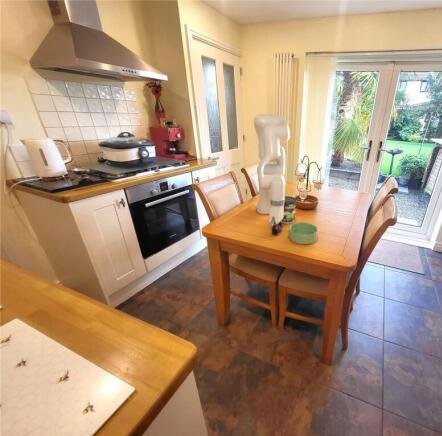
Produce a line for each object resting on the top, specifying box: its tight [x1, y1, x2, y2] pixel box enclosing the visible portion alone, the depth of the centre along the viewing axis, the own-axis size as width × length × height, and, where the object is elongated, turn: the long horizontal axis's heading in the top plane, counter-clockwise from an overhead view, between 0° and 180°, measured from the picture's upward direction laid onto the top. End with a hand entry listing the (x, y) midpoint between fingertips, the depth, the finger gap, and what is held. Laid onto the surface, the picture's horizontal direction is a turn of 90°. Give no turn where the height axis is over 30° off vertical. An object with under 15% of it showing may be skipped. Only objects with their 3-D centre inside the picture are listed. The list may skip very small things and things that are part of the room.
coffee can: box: [282, 195, 297, 225], centre depth 144 cm, size 10×10×14 cm
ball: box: [274, 224, 282, 234], centre depth 130 cm, size 5×5×5 cm
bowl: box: [288, 221, 319, 245], centre depth 126 cm, size 15×15×6 cm
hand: (276, 232), depth 131 cm, fingers closed on ball, 4 cm apart
